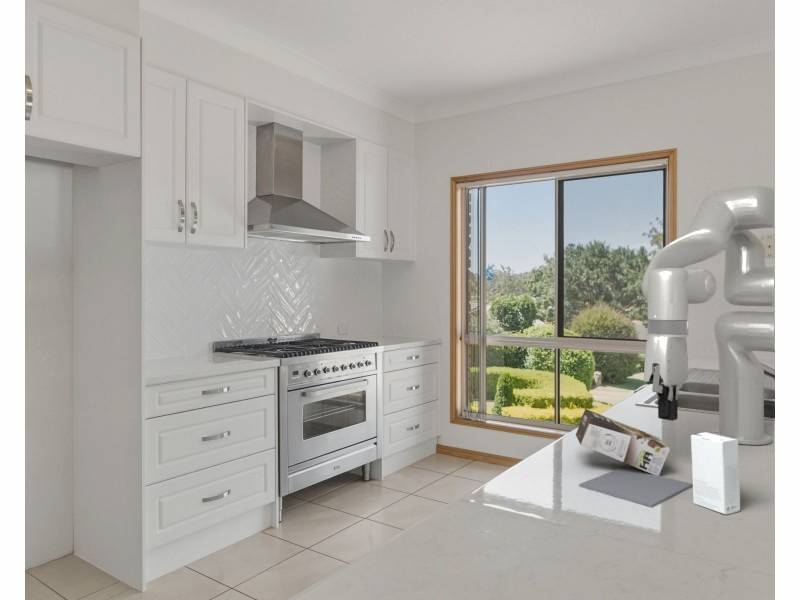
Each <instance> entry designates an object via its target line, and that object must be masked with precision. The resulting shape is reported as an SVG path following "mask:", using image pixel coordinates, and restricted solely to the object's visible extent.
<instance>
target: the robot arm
mask: <svg viewBox="0 0 800 600" xmlns="http://www.w3.org/2000/svg"><path fill="white" fill-rule="evenodd" d="M774 189H775V188H773V187H767V186H761V185H756V186H755V185H752V186H746V187H739V188H730V189H723V190H717V191H714V192H711V193H709V194H708V195H706V196H705V197H704V198H703V199H702V202H701V203H700V205H699V207H698V209H697V211H696V213H695V215H694V217H693V220H692V221H691V224H690V225H689V227H688V230H687V231H686V232H685V233H684V234H682V235H680V236H679V237H677V238H676V239H674V240H672V241H671V242H669V243H668V244H667V245H665V246H663V247H662V248H661V249H659V250H658V251H657V252H656V253H655V254H654V255H653V257H652V259H651V260H650V262H649V263H648V266H647V267H646V269H645V272H644V275H643V277H642V280H641V292H642V294H643V297H644V298H645V299H646V300H647V321H646V323H647V329H646V330H647V339H646V344H645V354H644V363H643V364H644V365H643V366H644V367H643V381H644V383H645V384H646V385H652V390H651V391H652V392H653V393H655V394H656V399H657V402H658V403H657V417H658V419H660V420H666V421H672V422H673V421H676V420H678V402H679V401H678V400H679V395H680V389H682V388H683V384H684V383H685V382H686V381H688V378H689V376H688V375H689V357H688V353H689V352H688V343H687V337H689V304H691V305H692V304H693V305H694V304H695V305H696V304H697V305H698V304H699V305H700V304H704V303H706V302H707V303H708V302H709V301H710V300H712V298H713V297H714V296H715V294H716V292H717V287H718V285H717V283H718V282H717V280H716V276H715V275H714V274H713V273H712V272H711V271H709V270H708V269H707V268H702V267H689V266H692V265H695V264H698V263H701V262H704V261H707V260H710V259H711V258H714V257H717V256H718V255H720V254H721V253H723V252H724V254H725V256H724V258H725V259H724V273H723V274H724V277H723V295H724V296H723V297H724V300H725V301H726V302H727V303H728V304H730V305H733V306H739V307H741V306H742V307H772V308H774V267H775V266H766V263H765V262H766V247H765V245H764V243H763V242H762V241H761V240H760V238H758V236H757V235H756V234H754V233H753V232H752V231H751V230H758V229H760V230H761V229H771V228H775V227H774ZM774 312H775V311H757V310H756V311H754V310H749V311H748V310H747V311H744V310H743V311H742V310H739V311H738V310H736V311H735V310H734V311H727V312H723V313H722V314H719V316H717V317H716V320H715V321H714V322H715V323H714V327H713V328H714V336H715V341H716V346H717V353H718V354H717V355H718V428H715V429H713V430H712V431H711V434H716V435H720V436H725V437H729V438H733V439H737V440H738V445H748V446H749V445H750V446H758V445H759V446H760V445H769V444H771V443H772V436H770V435H769V434H768V433H765V429H764V428H765V408H764V407H765V402H764V401H765V396H764V395H765V390H764V389H765V388H764V387H765V371H764V368H763V367H764V366H763V364H762V363H761V360H759V358H758V357H757V356H756V355H755V353H754V352H770V353H775V352H774V342H775V337H774Z"/></svg>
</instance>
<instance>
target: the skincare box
mask: <svg viewBox="0 0 800 600" xmlns="http://www.w3.org/2000/svg"><path fill="white" fill-rule="evenodd" d="M690 447H691V472H692V473H691V475H692V477H691V478H692V484H693V486H692V496H693V497H692V498H693V499H692V501H693V504H695V505H697V506H699V507H703V508H705V509H709V510H711V511H714V512H718V513H719V514H723V515H731V514H734V513H737V512H738V513H739V512H740V511H741V490H740V460H739V444H738V440H737V439H733V438H729V437H725V436H720V435H716V434H712V432H706V431H705V432H700V433H695V434H691V435H690Z"/></svg>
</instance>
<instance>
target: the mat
mask: <svg viewBox="0 0 800 600" xmlns="http://www.w3.org/2000/svg"><path fill="white" fill-rule="evenodd" d="M578 487H580V488H584V489H587V490H590V491H594V490H595V491H594V492H598V491H599V492H598V493H601V492H602V493H601V494H604V493H605V495H608V496H612V497H615V498H619V499H623V500H626V501H629V502H632V503H636V504H640V505H643V506H646V507H650V508H654V507H655V506H657V505H660V504H661V503H663V502H665V501H667V500H669V499H671V498H673V497H675V496H676V495H678V494H680V493H682V492H684V491H686V490H689V489H690V488H693V483H690V482H686V481H682V480H679V479H674V478H670V477H665V476H661V475H659V476H658V475H653V474H651V473H648V472H646V471H643V470H637V469H632V468H628V467H624V466H623V467H619V468H617V469H614V470H612V471H608V472H606V473H604V474H601V475H599V476H596V477H594V478H592V479H589V480H586V481H584V482H581V483H579V484H578Z"/></svg>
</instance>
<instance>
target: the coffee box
mask: <svg viewBox="0 0 800 600" xmlns="http://www.w3.org/2000/svg"><path fill="white" fill-rule="evenodd" d="M575 436H576V438H577V440H578V442H579V445H580V446H582V447H585V448H587V449H590V450H593V451H594V452H597V453H600V454H601V455H604V456H607V457H609V458H612V459H614V460H617V461H619V462H622V463H624V464H626V465H629V466H632V467H634V468H637V469H639V470H640V471H642V472H646V473H650V474H653V475H658V476H660V475H661V471H662V469H663V467H664V465H665V462H666V459H667V457H668V455H669V454H670V452H671V451H670V450H671V448H670V447H669V446H668V445H667V444H666V443H665V442H664V441H663V440H661V438H660V437H659V436H656V435H653V434H651V433H648V432H645V431H643V430H640V429H638V428H636V427H633V426H630V425H628V424H625V423H623V422H620V421H618V420H615V419H612V418H610V417H608V416H605V415H602V414H600V413H597V412H595V411H592V410H590V409H587V408H585V409H584V411H583V414H582V416H581V420H580V421H579V425H578V427H577V430H576V433H575Z"/></svg>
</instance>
